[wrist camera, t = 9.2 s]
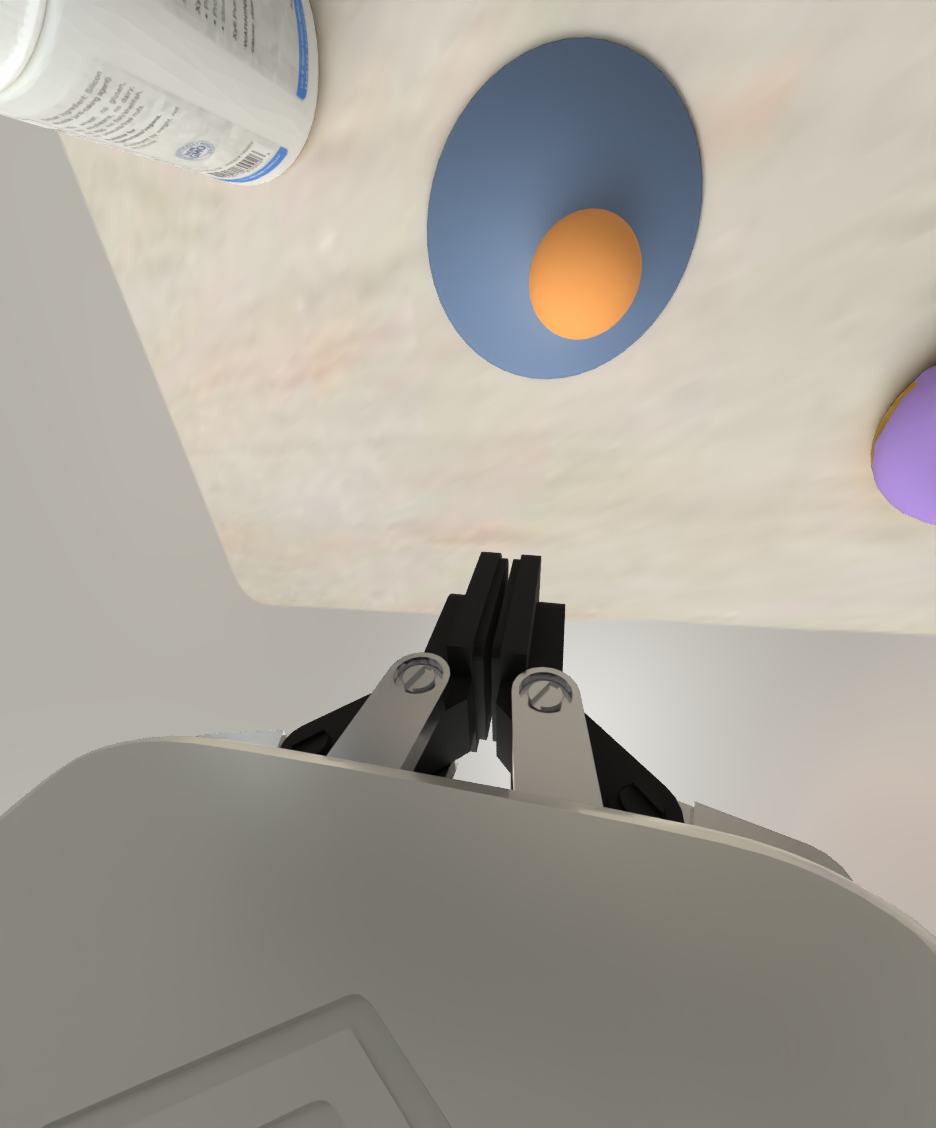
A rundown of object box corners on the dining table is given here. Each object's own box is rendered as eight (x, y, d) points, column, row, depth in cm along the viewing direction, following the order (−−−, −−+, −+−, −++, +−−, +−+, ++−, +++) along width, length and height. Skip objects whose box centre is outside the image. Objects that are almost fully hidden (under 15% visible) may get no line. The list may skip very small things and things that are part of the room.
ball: (556, 277, 17) (495, 318, 21) (641, 344, 19) (570, 368, 23) (602, 150, 16) (530, 218, 21) (683, 234, 19) (602, 279, 23)
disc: (415, 66, 19) (414, 63, 19) (737, 13, 17) (738, 10, 16) (438, 379, 26) (437, 380, 26) (669, 377, 23) (669, 377, 23)
